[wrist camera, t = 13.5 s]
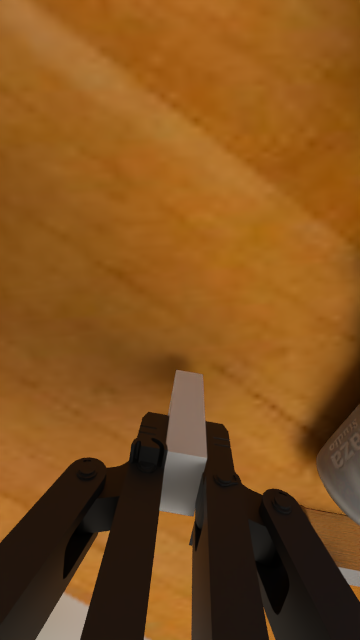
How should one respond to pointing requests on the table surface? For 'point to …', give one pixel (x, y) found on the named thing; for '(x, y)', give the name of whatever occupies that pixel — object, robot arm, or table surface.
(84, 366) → the table surface
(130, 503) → the robot arm
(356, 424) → the pipe fitting
